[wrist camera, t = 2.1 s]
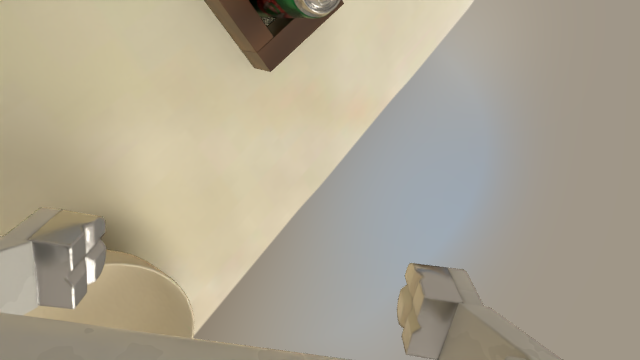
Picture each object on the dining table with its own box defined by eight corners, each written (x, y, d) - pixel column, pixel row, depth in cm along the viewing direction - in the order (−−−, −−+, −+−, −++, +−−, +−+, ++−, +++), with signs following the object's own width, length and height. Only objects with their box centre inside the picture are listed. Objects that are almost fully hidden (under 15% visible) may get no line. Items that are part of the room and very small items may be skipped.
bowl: (28, 201, 42) (29, 245, 34) (189, 238, 51) (220, 279, 43) (-34, 356, 43) (-46, 435, 35) (135, 364, 52) (156, 427, 44)
